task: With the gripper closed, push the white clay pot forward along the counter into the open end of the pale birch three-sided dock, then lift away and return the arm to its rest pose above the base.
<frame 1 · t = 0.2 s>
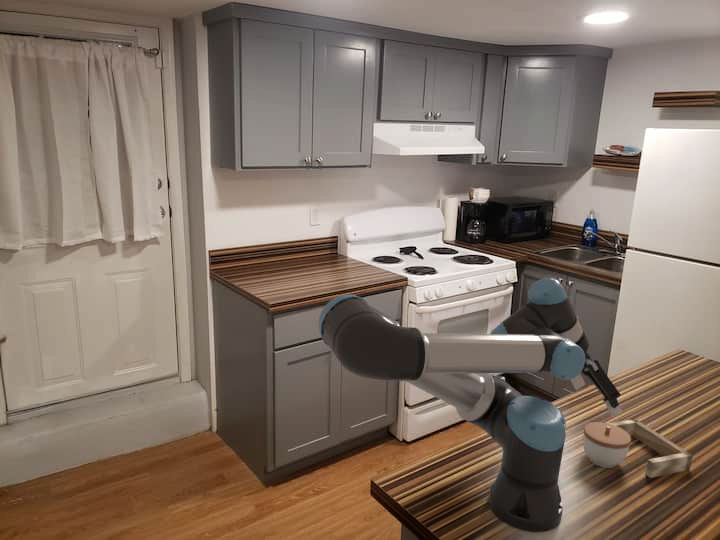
hand: (597, 399, 138), 15 cm above the kitchen island, tool tilted 35°, fingers open, 13 cm apart
lidded jar: (602, 461, 140), on the kitchen island
birch dock: (640, 453, 144), on the kitchen island
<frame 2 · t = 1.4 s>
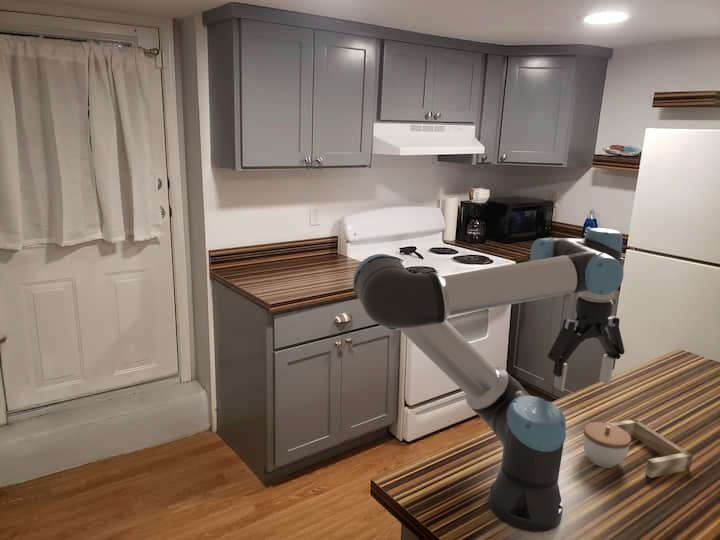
hand: (581, 385, 131), 22 cm above the kitchen island, tool pointing down, fingers open, 12 cm apart
nothing on the kitchen island moved.
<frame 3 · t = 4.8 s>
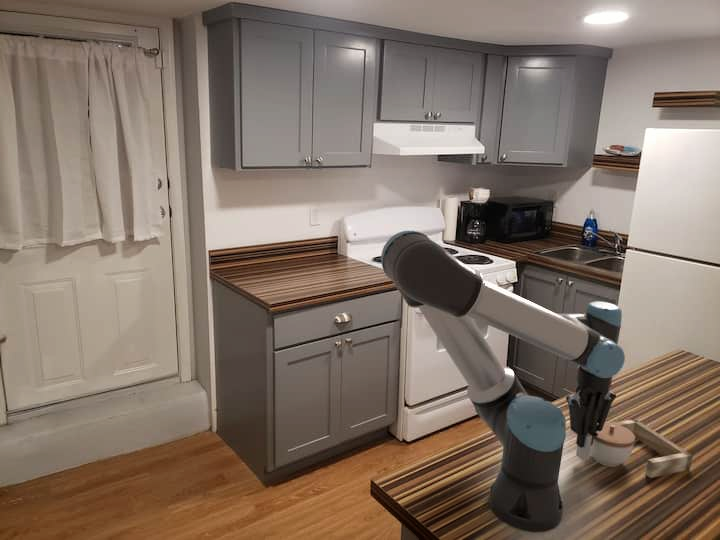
hand: (582, 457, 137), 2 cm above the kitchen island, tool pointing down, fingers closed
lidded jar: (606, 460, 140), on the kitchen island, touching gripper
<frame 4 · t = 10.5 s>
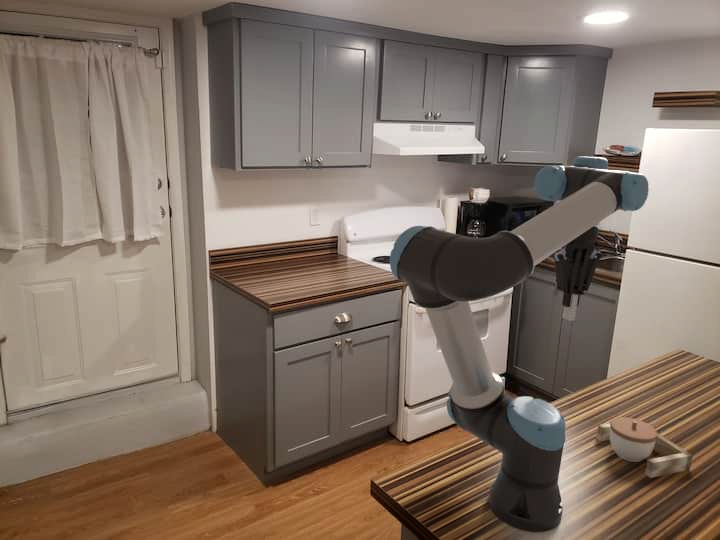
hand: (568, 318, 138), 34 cm above the kitchen island, tool pointing down, fingers closed
lidded jar: (628, 455, 143), on the kitchen island
at the end: lidded jar inside the target area (3.2 cm from its centre), on the kitchen island; lidded jar tilted 0°; lidded jar moved 8.6 cm from its start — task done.
